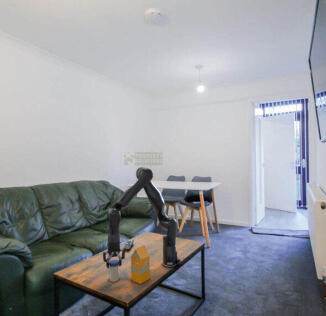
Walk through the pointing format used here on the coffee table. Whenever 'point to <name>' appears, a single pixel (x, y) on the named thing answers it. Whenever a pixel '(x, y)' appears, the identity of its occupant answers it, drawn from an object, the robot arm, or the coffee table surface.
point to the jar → (114, 273)
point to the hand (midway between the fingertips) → (114, 266)
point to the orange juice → (140, 265)
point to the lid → (113, 263)
